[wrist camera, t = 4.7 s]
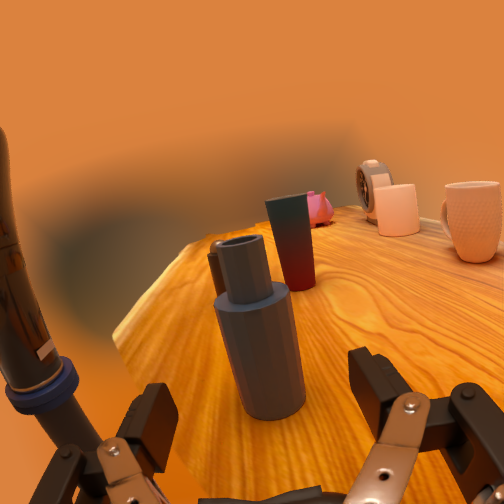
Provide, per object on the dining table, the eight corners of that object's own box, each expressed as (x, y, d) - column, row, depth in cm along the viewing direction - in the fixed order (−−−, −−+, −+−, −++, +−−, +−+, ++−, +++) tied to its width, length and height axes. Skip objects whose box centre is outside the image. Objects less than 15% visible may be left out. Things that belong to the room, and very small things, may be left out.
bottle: (243, 425, 20) (194, 257, 17) (243, 386, 26) (206, 241, 23) (310, 413, 20) (283, 239, 17) (300, 375, 25) (274, 227, 23)
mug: (425, 254, 49) (419, 186, 46) (460, 242, 50) (455, 180, 47) (480, 272, 35) (477, 187, 32) (512, 256, 36) (510, 181, 33)
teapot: (347, 223, 97) (341, 187, 95) (311, 232, 95) (304, 194, 92) (322, 219, 116) (317, 189, 114) (290, 227, 114) (284, 195, 111)
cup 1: (310, 294, 44) (293, 196, 41) (273, 292, 49) (256, 202, 46) (327, 278, 50) (313, 191, 46) (293, 277, 54) (278, 196, 51)
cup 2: (371, 236, 72) (365, 190, 69) (388, 226, 79) (383, 186, 76) (412, 236, 63) (407, 187, 60) (424, 226, 70) (419, 183, 67)
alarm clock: (360, 220, 98) (351, 163, 94) (382, 216, 97) (373, 160, 93) (375, 227, 81) (365, 159, 77) (400, 223, 80) (391, 156, 76)
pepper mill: (217, 306, 47) (202, 245, 45) (219, 297, 52) (206, 240, 49) (244, 301, 47) (230, 239, 45) (244, 292, 52) (231, 235, 49)
